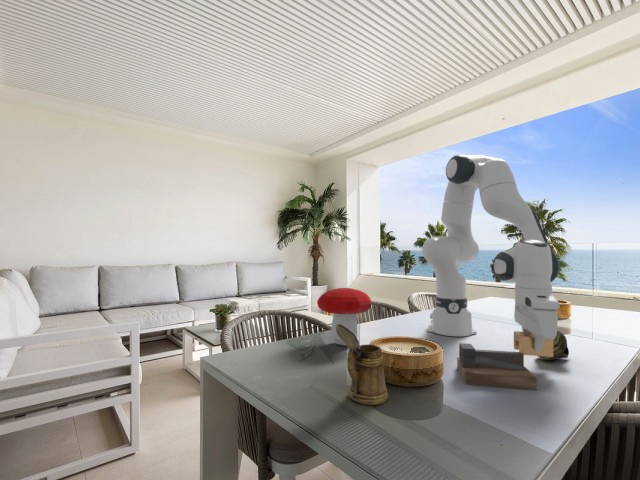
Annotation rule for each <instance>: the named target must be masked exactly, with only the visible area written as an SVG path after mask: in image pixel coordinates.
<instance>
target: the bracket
mask: <svg viewBox="0 0 640 480" xmlns="http://www.w3.org/2000/svg"><path fill="white" fill-rule="evenodd" d="M458 345H459V347H458V348H459V349H458V351H459V355H458V356H457V357H456V360H457V361H456V365H457V367H456V368H457V370H458V372H459V374H460V376H461V378H462V379H463V382H464V383H465V385H469V386H481V387H492V388H506V389H507V388H508V389H517V390H528V391H529V390H531V391H537V390H538V386H537V385H538V384H537V383H538V381H537V377H536V375H535V374H533V373H532V372H531V371H530V370H529V369H528V368H527V367H525V360H524V359H525V357H524V356H525V355H524V354H523V353H522V352H519V351H509V350H507V351H505V350H494V349H493V350H490V349H476V348H475V347H474V346H473V344H472V343H466V342H465V343H463V342H459V344H458Z"/></svg>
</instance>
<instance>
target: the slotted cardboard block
mask: <svg viewBox="0 0 640 480" xmlns="http://www.w3.org/2000/svg"><path fill="white" fill-rule="evenodd" d="M533 343H535V338H534V334H533V333H531V332H523V331H518V330H517V331H516V330H515V331H513V349H514V350H515V351H517V350H518V352H522V353H523V354H524V356H533V357H536V356H537V357H538V356H546V357H553V340H547V339H545V341H544V344H543V350H542V351H536V350H534V349H533Z"/></svg>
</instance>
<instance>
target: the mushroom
mask: <svg viewBox="0 0 640 480" xmlns="http://www.w3.org/2000/svg"><path fill="white" fill-rule="evenodd" d="M316 303H317V307H318V308H319V309H320V310H321V311H323V312H325V313H328V314H333V317H332V321H331V338H332V339H333V341H334V342H335V343H336V344H337V345H340V346H347V345H346V344H345V343H344V342H343V341H342V340H341V339H340V337H339V336H338V334H337V331H336V326H337V325H338V324H340V325H342V326H344V327H346V328H347V329H349V330H350V331H351V332H352V333H353V334H354V335H355V336H356V338H357V339H358V322H357V316H356V315H357V314H358V315H359V314H362V313H366V312H367V311H369V310H370V308H371V304H372V299H371V297H370V296H369V295H368V294H367V293H366V292H364V291H361V290H358V289H354V288H351V287H338V288H333V289H329V290H327V291H325V292H323V293H322V294H321V295H320V296H319V298H317V302H316Z"/></svg>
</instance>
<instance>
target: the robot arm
mask: <svg viewBox="0 0 640 480" xmlns="http://www.w3.org/2000/svg"><path fill="white" fill-rule="evenodd" d="M445 176H446V179H447V180H448V183H447V186H446V189H445V194H444V198H443V203H442V211H441V216H440V219H441V222H442V224H443V225H444V226H445V227H446V232H447V236H439V235H438V236H434V237H431V238H428V239H426V240H424V243H423V245H422V247H421V248H422V249H421V253H422V256H423V258H424V260H425V261H427V262H428V263H429V265H431V268H432V270H433V272H434V275H435V281H436V297H435V306H436V307H435V308H434V309H433V310H432V312H431V313H430V314H429V319H430V323H429V325H428V326H427V328H426V329H427V330H426V331H427V332H429V333H434V334H437V335H441V336H447V337H468V336H471V335H477V330H475V329H473V322H472V321H473V320H472V319H473V318H472V313H471V311H470V310H468V308H467V307H468V298H467V288H466V287H467V286H466V284H467V283H466V278H465V276H463V274H461V273H460V272H459V269H458V267H457V264H466V263H468V262H472V261H474V260H476V258H478V255H479V252H480V249H479V245H478V243H477V241H476V240H475V239H474V236H473V232H472V227H471V226H472V225H471V224H472V214H473V208H474V201H475V193H476V191H477V190H478V192H479V197H480V201H481V206H482V207H483V209H484V211H485V212H486V213H488V214H489V215H490V216H492V217H494V218H496V219H500V220H504V221H506V222H508V223H511V224H512V225H514V226H515V227H517V228H518V229H519V230H520V231H521V233H522V236H523V238H524V239H521V240H519V241H517V243H516V244H515V246H514V247H511V248H509V249H507V250H504V251H500V252H498V253H497V255H495V257H494V259H493V261H492V271H493V273H494V275H495V277H496V278H497V279H499V280H500V281H503V282H507V283H508V282H509V283H515V285H514V302H515V303H514V311H513V312H514V313H513V314H514V321H515V323H516V324H518V325H519V326H521V330H522V331H521V332H531V333H533V334H534V338H535V343H533V349H534V350H536V351H542V350H543V344H544V341H545V339H547V340H554V339H555V337H556V335H557V331H558V312H557V311H559V310H560V302H559V300H557V298H556V297H555V296H554V293H553V286H552V282H553V281H555V280H556V278H558V276H559V275H560V272H561V263H560V260H559V258H558V257H557V255H556V253H555V251H554V250H553V249H552V247H551V246H550V242H549V241H548V239H547V236H546V234H545V231H544V229H543V227H542V225H541V222H540V220H539V218H538V215H537V214H536V212H535V210H534V208H533V207H532V206H531V205H529V204H528V203H527V202H526V201H525V200H524V198H523V197H522V195H521V193H520V192H519V189H518V187H517V186H518V185H517V182H516V180H515V176H514V173H513V171H512V169H511V167H510V165H509V163H508V162H507V161H505V160H503V159H502V158H497V157H491V156H486V155H469V154H468V155H466V154H457V155H453V156H452V157H451V158H450V159H449V160H448V161H447V164H446V167H445Z"/></svg>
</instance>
